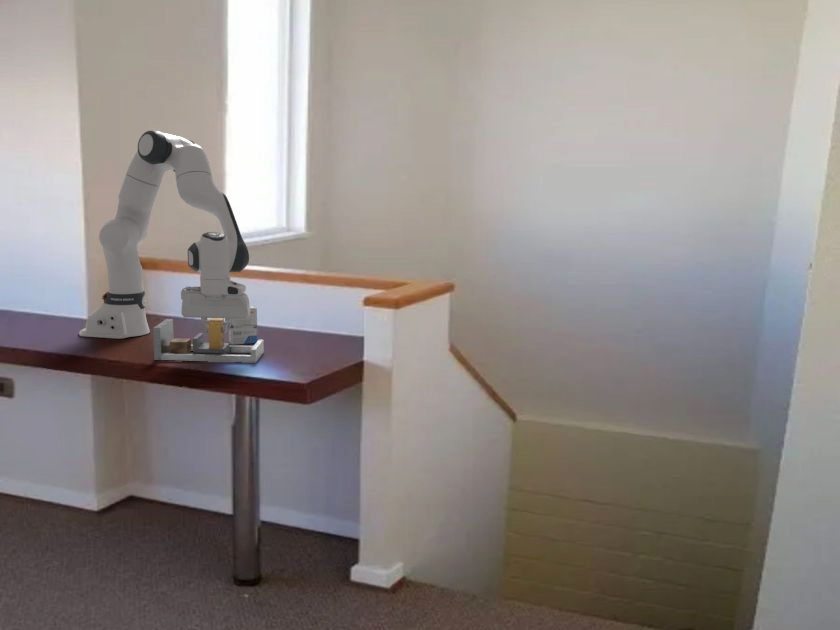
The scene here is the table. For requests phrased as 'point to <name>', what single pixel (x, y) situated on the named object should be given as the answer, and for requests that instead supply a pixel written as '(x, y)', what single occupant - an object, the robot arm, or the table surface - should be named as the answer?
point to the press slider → (212, 340)
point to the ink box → (244, 329)
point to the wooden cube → (180, 346)
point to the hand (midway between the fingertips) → (216, 332)
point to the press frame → (162, 350)
